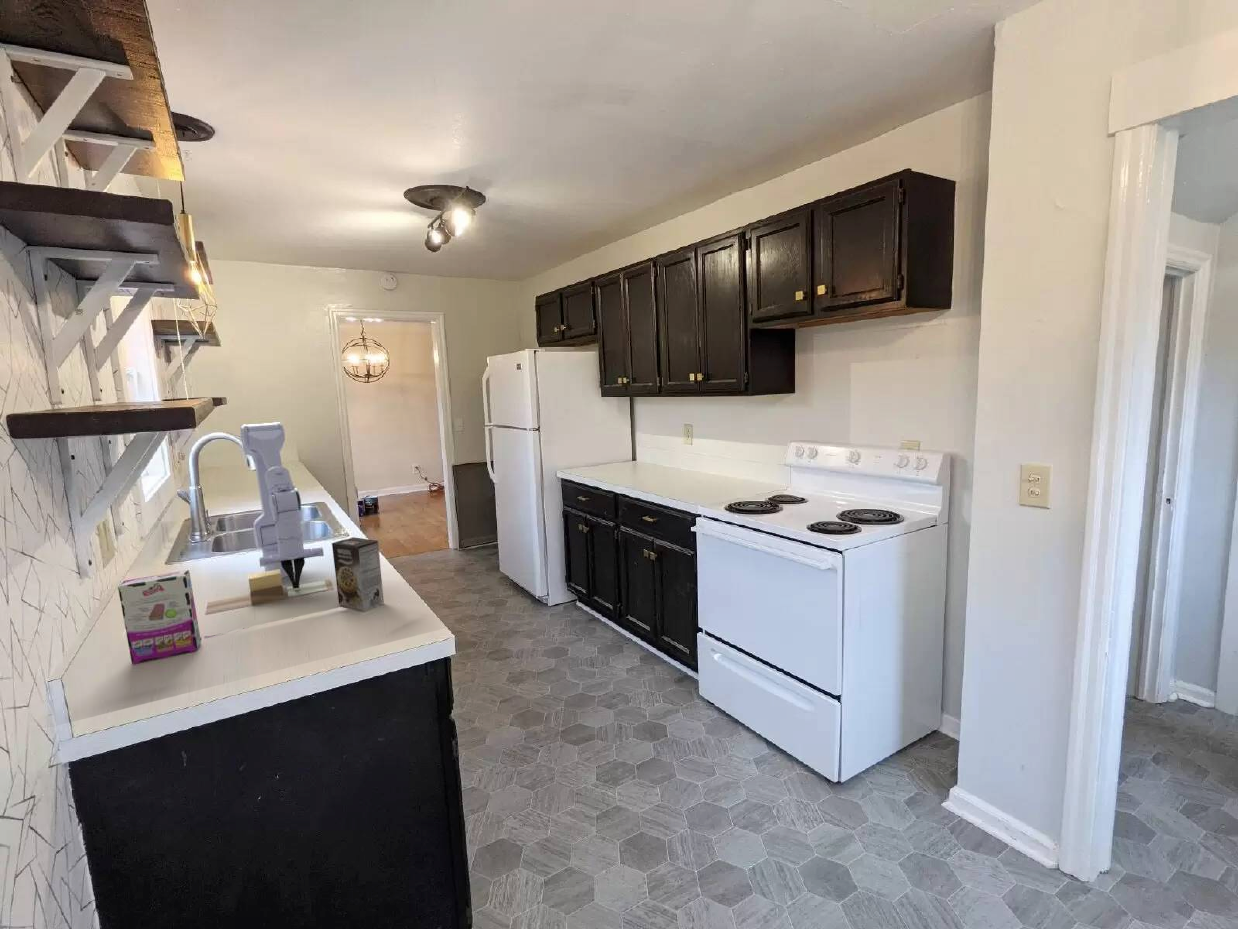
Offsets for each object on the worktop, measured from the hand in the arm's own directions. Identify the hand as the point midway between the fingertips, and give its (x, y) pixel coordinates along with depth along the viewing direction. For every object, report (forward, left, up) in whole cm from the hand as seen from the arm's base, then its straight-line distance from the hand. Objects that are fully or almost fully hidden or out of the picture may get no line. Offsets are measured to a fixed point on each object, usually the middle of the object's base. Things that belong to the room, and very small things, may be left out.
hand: (296, 587), depth 157 cm
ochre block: (0, -6, -1) cm, 7 cm away
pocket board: (0, -5, -2) cm, 6 cm away
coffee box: (+20, +13, -2) cm, 24 cm away
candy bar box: (+24, -25, -2) cm, 35 cm away
